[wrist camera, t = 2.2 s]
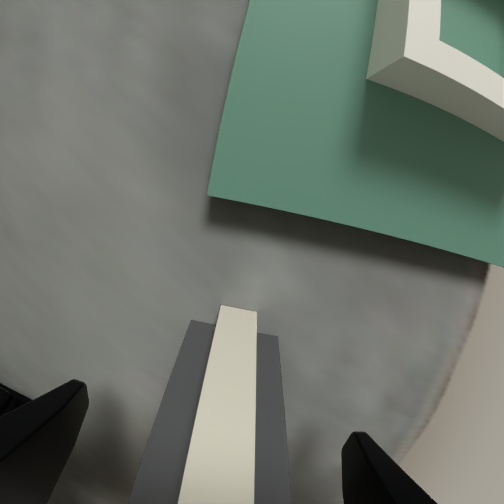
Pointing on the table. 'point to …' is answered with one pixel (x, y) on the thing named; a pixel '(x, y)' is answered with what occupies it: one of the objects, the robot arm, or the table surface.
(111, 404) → the table surface
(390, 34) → the board
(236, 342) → the plug
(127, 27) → the table surface
